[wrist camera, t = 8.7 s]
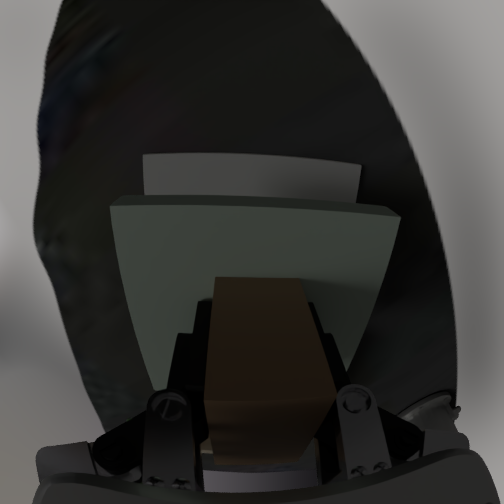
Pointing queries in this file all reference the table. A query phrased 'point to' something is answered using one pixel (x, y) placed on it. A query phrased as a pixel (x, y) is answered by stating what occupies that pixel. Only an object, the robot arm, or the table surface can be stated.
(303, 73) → the table surface
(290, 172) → the felt mat
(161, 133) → the table surface
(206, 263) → the lid
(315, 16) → the table surface
